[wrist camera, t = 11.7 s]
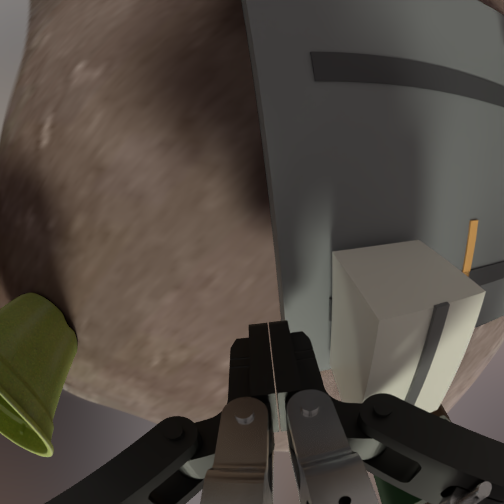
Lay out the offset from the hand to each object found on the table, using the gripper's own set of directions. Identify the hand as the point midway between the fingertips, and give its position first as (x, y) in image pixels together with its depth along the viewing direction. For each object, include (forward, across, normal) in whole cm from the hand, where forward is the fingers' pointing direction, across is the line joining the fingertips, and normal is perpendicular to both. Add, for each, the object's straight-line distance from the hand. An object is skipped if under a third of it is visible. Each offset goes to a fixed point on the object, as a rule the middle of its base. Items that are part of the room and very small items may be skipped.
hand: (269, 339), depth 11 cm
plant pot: (+5, +16, +2) cm, 17 cm away
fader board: (+4, -11, -6) cm, 13 cm away
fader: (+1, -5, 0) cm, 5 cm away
